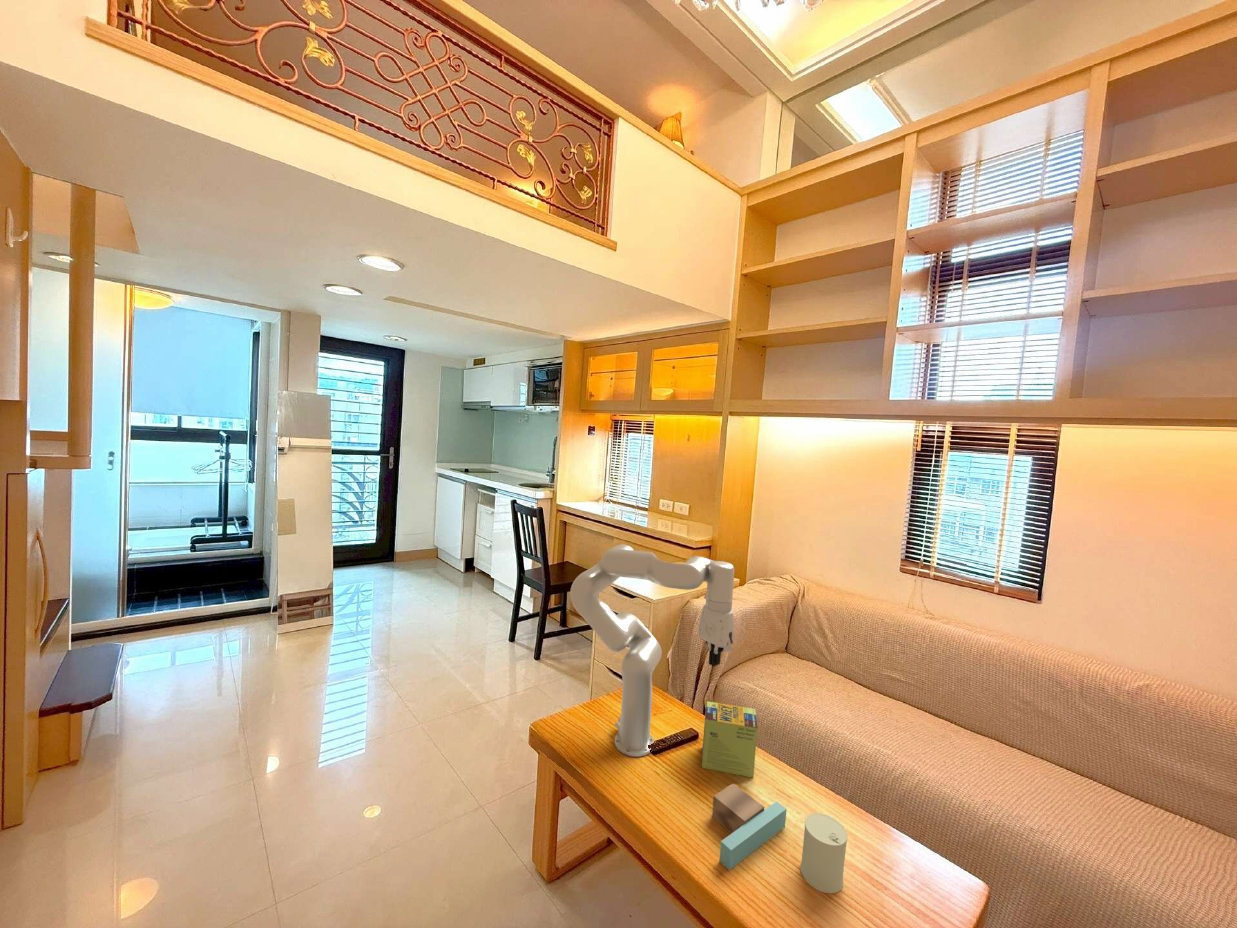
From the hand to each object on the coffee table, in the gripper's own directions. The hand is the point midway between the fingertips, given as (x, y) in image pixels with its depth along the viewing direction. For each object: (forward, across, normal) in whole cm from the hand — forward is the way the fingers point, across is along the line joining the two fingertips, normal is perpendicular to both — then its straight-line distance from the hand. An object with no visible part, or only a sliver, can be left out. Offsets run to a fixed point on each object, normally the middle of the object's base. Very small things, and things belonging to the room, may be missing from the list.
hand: (714, 664), depth 146 cm
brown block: (+32, +19, -9) cm, 39 cm away
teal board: (+32, +26, -11) cm, 42 cm away
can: (+32, +40, -5) cm, 52 cm away
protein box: (+32, +2, +7) cm, 33 cm away
